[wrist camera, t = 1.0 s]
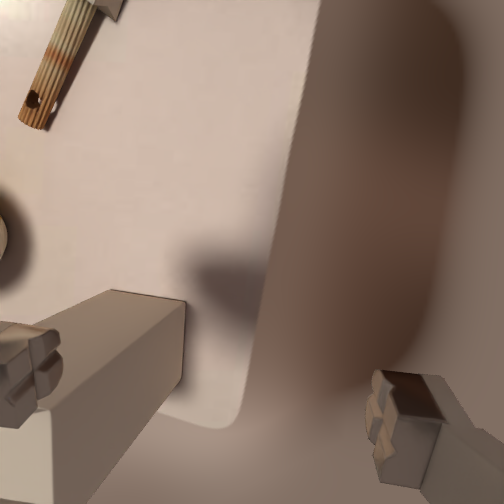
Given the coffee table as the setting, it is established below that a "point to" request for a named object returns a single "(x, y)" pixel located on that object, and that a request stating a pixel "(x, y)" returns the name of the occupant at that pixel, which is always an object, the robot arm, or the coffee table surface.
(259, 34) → the coffee table surface
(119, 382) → the milk carton
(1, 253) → the mug
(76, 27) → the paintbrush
